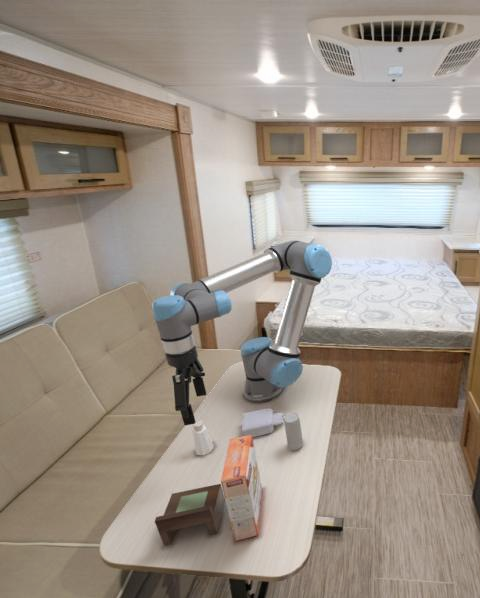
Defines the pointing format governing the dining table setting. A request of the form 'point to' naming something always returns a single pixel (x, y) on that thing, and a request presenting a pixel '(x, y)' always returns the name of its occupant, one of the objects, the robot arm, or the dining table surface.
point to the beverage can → (293, 431)
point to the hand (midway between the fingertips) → (196, 408)
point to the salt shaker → (201, 439)
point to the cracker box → (242, 487)
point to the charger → (260, 422)
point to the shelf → (191, 511)
